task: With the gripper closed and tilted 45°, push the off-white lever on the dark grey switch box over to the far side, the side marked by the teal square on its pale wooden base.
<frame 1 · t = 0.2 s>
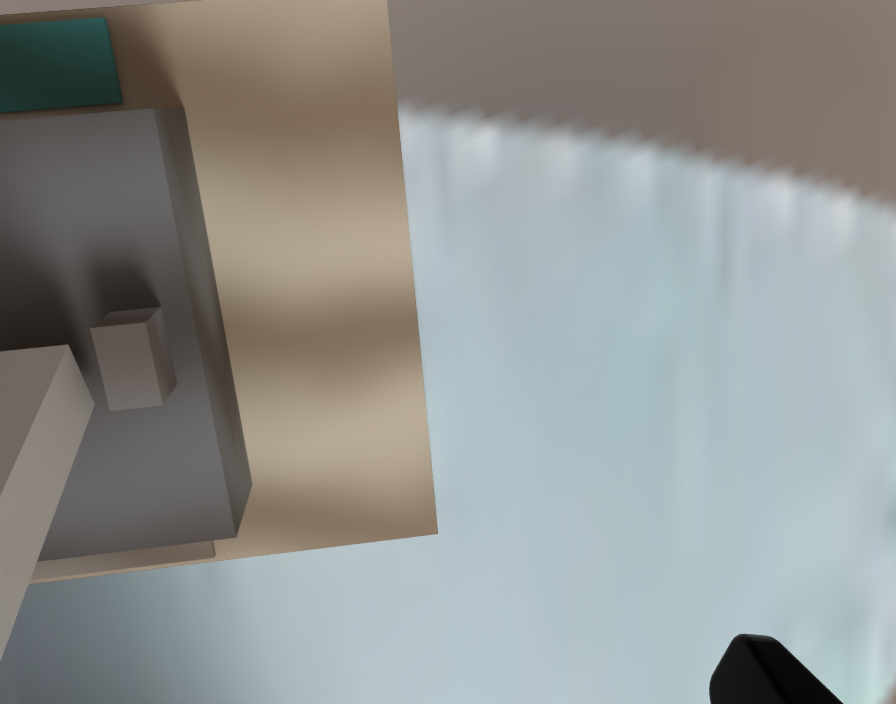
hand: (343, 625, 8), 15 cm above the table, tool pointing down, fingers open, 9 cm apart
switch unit: (71, 318, 22), on the table
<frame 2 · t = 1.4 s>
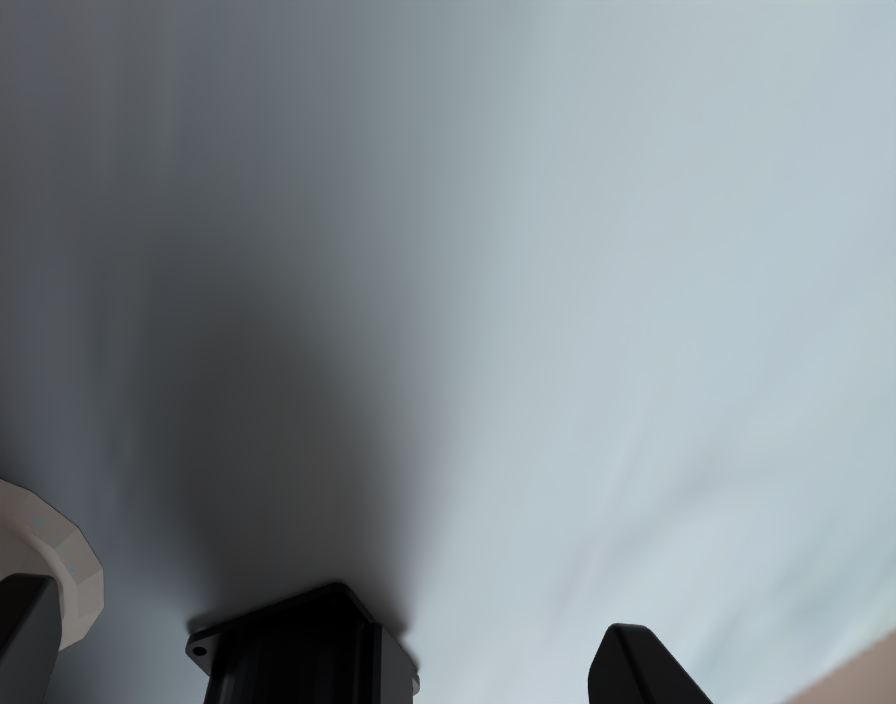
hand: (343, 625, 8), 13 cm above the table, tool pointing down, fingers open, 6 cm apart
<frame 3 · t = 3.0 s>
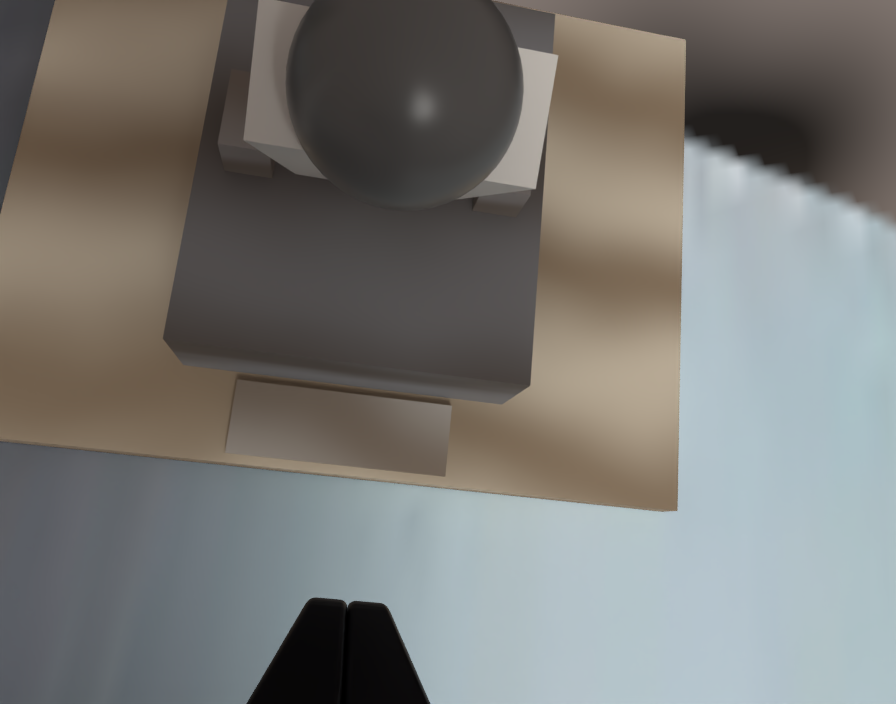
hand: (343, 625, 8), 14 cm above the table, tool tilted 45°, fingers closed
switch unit: (367, 219, 24), on the table
lever: (391, 126, 14), point 10 cm above the table, hinge at -23.6°
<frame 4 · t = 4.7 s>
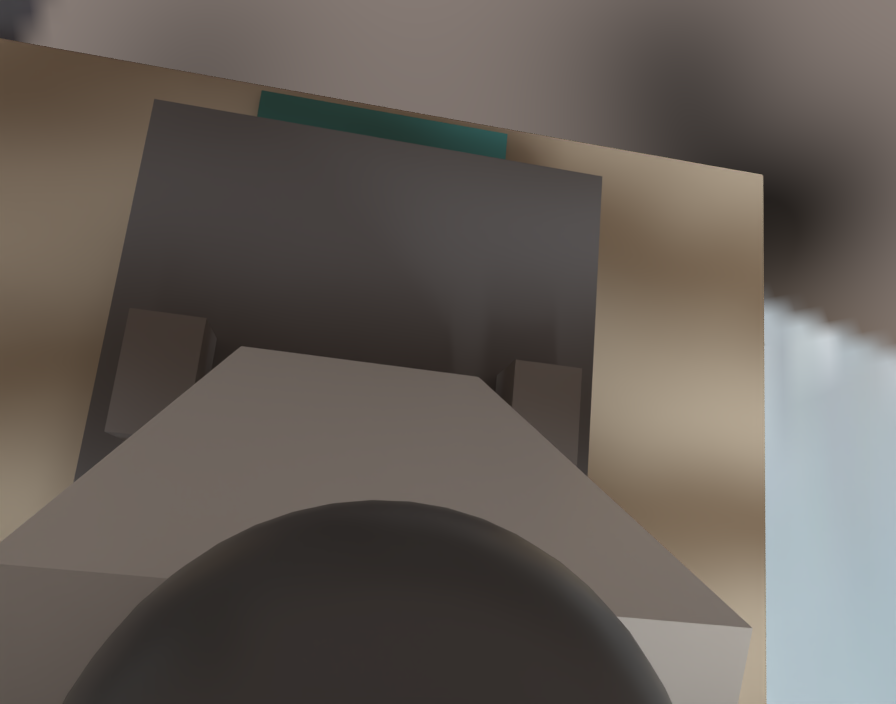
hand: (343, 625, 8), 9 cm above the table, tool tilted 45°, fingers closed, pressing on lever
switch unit: (345, 435, 18), on the table
lever: (359, 527, 7), point 10 cm above the table, hinge at -20.0°, touching gripper
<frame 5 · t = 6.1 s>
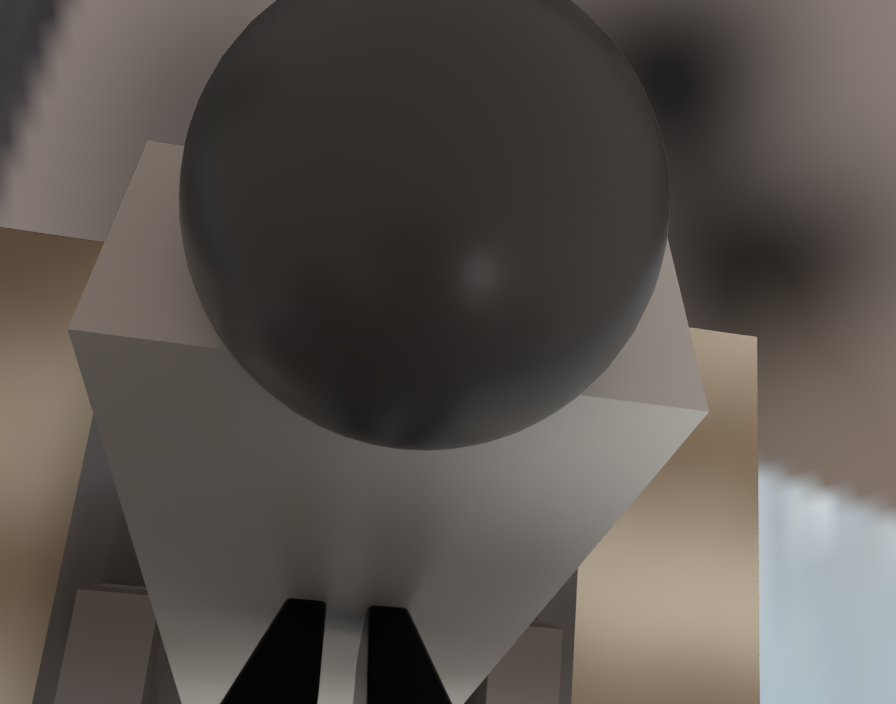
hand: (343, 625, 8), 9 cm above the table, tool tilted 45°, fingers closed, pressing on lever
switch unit: (319, 633, 17), on the table
lever: (360, 499, 8), point 10 cm above the table, hinge at 24.5°, touching gripper
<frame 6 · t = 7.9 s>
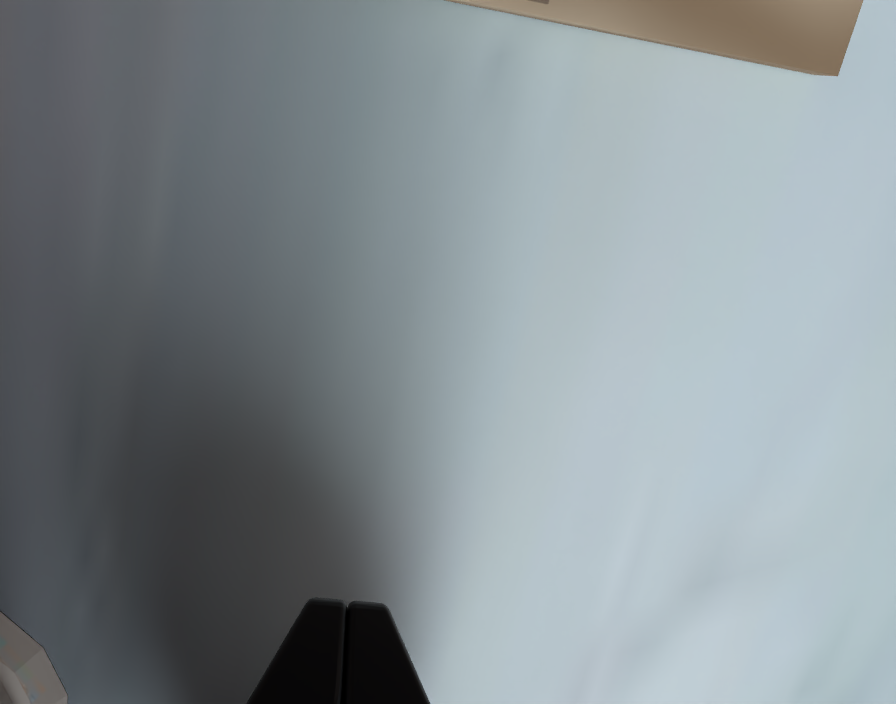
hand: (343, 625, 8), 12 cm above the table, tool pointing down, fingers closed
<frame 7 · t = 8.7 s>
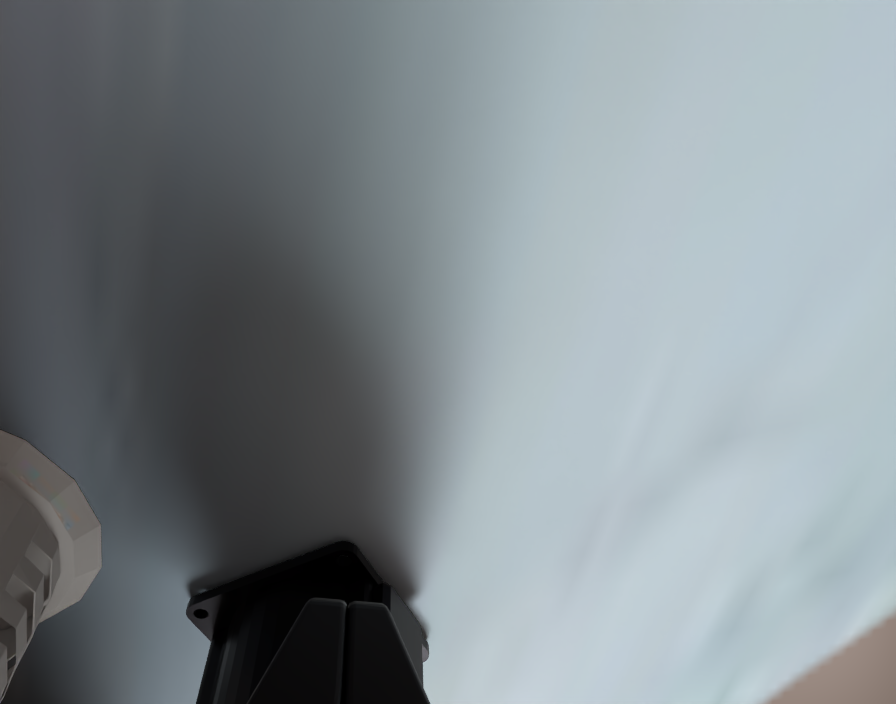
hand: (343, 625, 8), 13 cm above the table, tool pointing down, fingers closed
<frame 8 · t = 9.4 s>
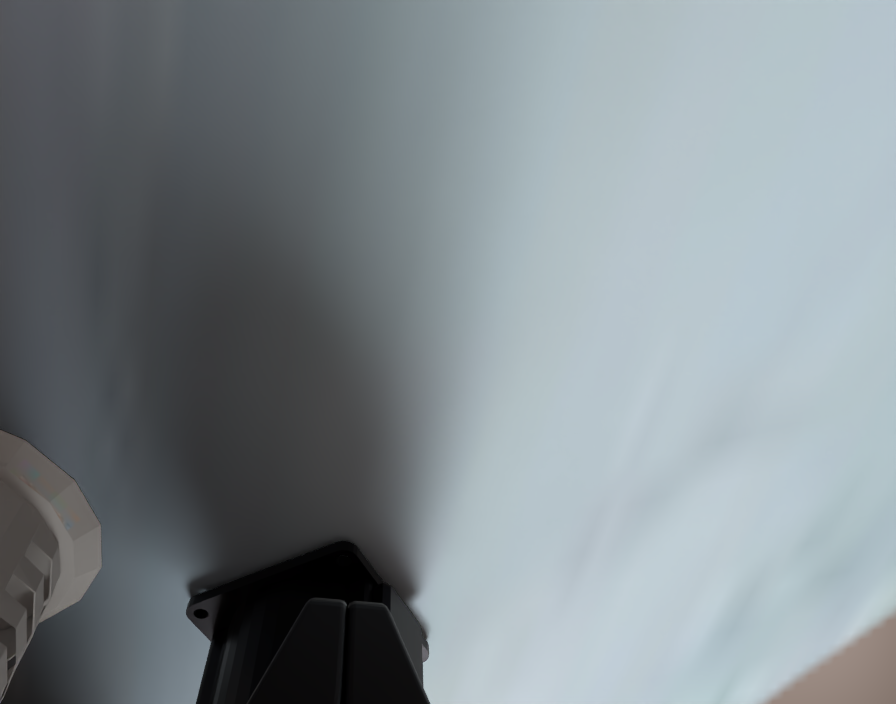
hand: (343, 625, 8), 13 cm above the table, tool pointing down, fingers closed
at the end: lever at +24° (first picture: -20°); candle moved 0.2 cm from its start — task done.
